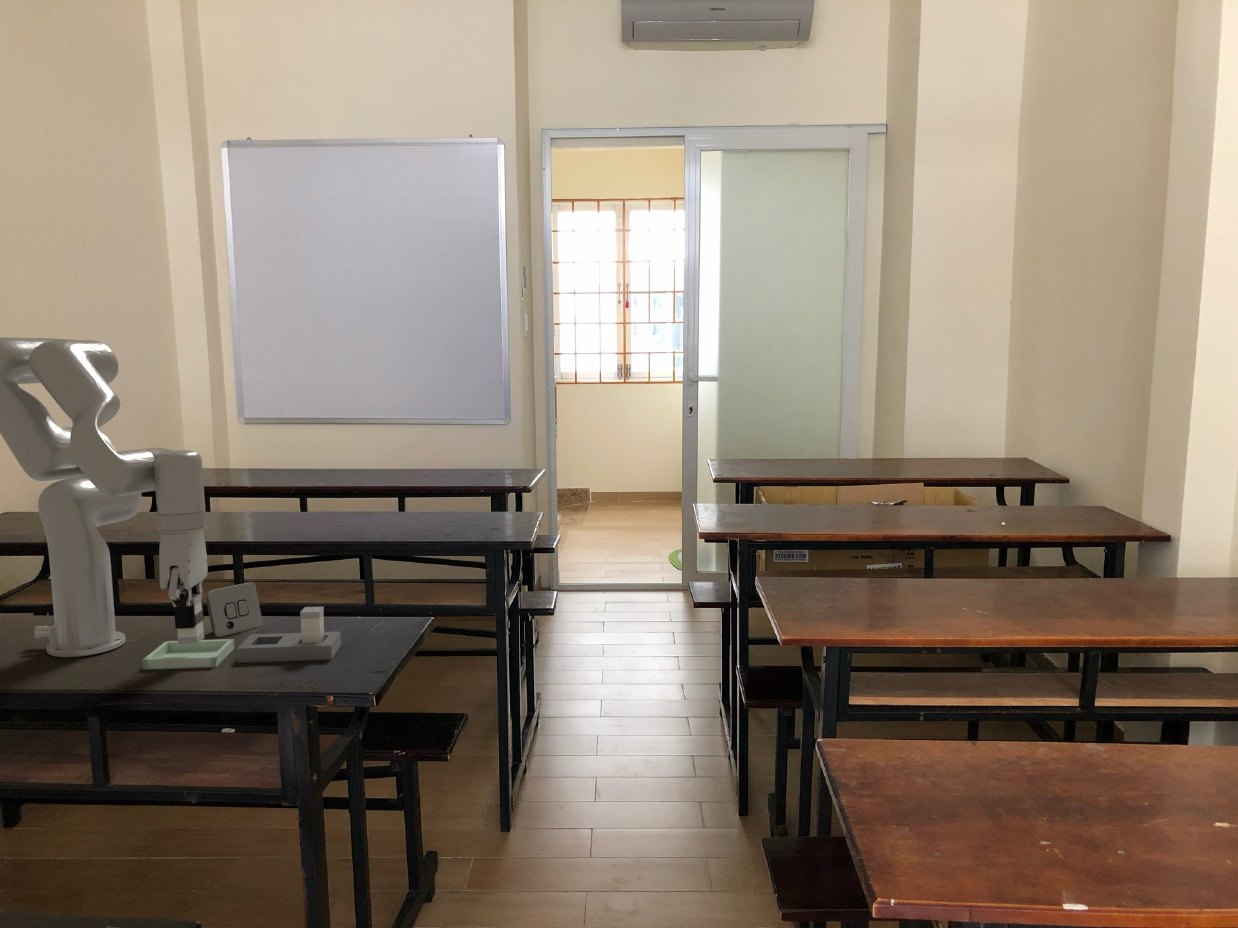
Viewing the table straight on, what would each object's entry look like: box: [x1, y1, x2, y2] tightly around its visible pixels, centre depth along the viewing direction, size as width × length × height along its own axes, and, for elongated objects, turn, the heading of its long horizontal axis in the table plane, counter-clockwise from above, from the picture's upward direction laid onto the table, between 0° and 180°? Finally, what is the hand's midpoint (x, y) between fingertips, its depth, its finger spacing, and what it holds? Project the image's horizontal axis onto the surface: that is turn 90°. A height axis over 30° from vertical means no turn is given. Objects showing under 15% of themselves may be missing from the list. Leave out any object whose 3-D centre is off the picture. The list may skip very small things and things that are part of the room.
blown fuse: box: [176, 594, 205, 644], centre depth 157 cm, size 3×3×8 cm
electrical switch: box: [205, 581, 264, 638], centre depth 175 cm, size 9×5×9 cm, turn 141°
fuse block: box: [236, 631, 342, 664], centre depth 161 cm, size 16×8×3 cm, turn 96°
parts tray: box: [142, 638, 235, 671], centre depth 158 cm, size 12×10×2 cm
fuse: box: [299, 606, 325, 643], centre depth 161 cm, size 3×3×8 cm
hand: (189, 623), depth 157 cm, fingers closed on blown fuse, 3 cm apart
